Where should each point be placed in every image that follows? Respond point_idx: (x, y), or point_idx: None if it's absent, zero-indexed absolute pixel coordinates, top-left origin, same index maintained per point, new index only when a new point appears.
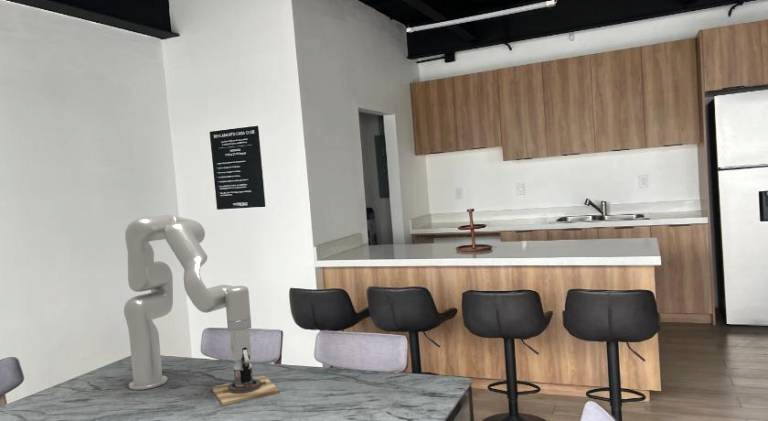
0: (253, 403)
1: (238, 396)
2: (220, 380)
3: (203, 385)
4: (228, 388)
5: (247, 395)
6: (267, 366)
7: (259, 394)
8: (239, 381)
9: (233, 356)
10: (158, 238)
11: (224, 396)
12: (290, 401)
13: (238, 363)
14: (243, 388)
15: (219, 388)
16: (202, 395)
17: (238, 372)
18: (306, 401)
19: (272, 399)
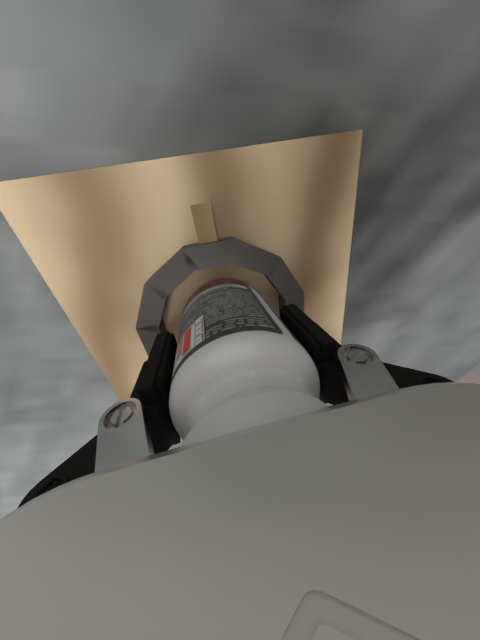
0: (27, 348)
1: (96, 290)
2: (456, 202)
3: (468, 82)
4: (217, 240)
5: (100, 332)
6: (441, 375)
7: (107, 376)
8: (183, 322)
9: (237, 515)
10: None
11: (122, 208)
12: (31, 455)
13: (195, 427)
14: (147, 326)
15: (298, 184)
16: (283, 45)
17: (181, 356)
18: (22, 488)
19: (70, 408)
